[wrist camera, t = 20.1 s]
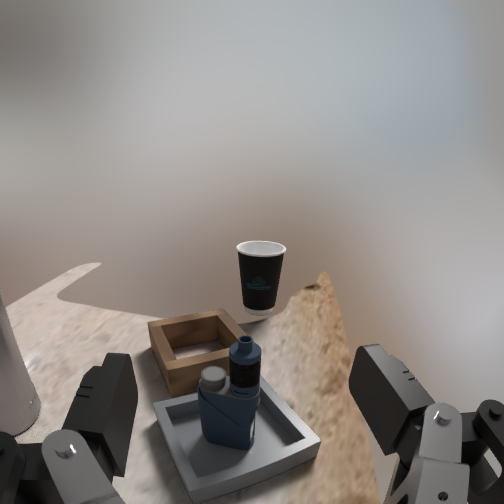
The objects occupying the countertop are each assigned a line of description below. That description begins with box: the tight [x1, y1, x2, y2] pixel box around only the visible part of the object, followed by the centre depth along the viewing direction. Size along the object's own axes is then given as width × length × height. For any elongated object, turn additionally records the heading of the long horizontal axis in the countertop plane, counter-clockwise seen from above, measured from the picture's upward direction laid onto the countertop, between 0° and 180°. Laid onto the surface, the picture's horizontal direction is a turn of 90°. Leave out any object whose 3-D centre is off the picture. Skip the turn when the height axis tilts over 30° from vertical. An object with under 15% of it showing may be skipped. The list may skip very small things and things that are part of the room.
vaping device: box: [197, 335, 261, 451], centre depth 24 cm, size 3×5×12 cm, turn 75°
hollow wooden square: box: [148, 309, 255, 397], centre depth 38 cm, size 11×11×4 cm
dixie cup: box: [236, 241, 286, 315], centre depth 51 cm, size 8×8×11 cm
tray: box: [153, 375, 321, 504], centre depth 25 cm, size 12×11×3 cm
